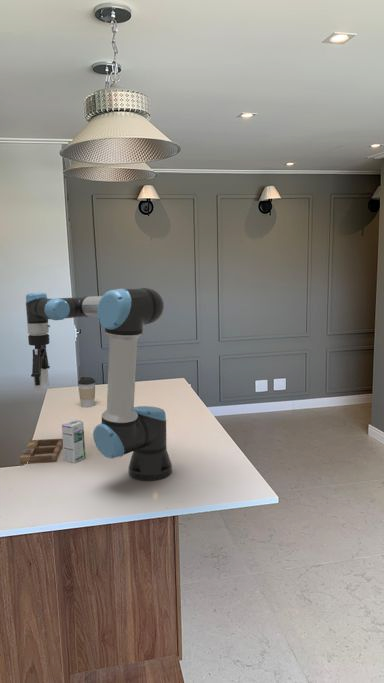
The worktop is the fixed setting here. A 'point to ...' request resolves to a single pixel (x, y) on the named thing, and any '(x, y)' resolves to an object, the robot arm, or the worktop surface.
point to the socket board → (41, 451)
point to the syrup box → (73, 441)
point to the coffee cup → (87, 391)
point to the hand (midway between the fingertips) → (42, 389)
